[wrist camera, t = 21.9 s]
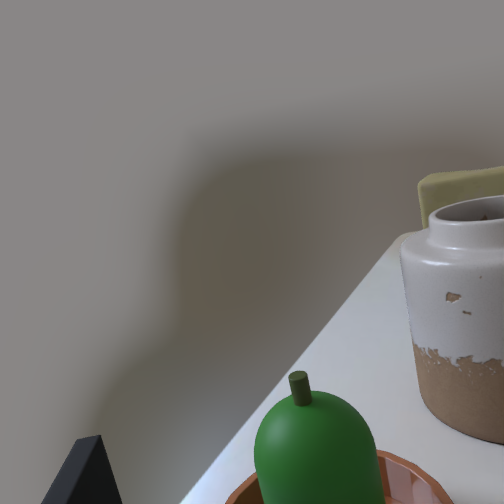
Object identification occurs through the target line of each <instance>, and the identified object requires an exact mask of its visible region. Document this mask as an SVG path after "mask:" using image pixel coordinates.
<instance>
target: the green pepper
mask: <svg viewBox="0 0 504 504" xmlns="http://www.w3.org/2000/svg"><path fill="white" fill-rule="evenodd" d="M288 378H289V383H290V387H291V392H292V395H290V396H288V397H286V398H284V399H282V400H281V401H279V402H278V403H277V404H276V405H275V406H274V407H273V408H272V409H271V410H270V411H269V412H268V413H267V415H266V416H265V417H264V419H263V421H262V422H261V425H260V427H259V429H258V432H257V435H256V439H255V446H254V463H255V469H256V473H257V477H258V481H259V485H260V489H261V493H262V497H263V501H264V504H386V501H385V496H384V490H383V485H382V479H381V473H380V468H379V462H378V457H377V451H376V446H375V442H374V438H373V436H372V433H371V431H370V429H369V427H368V425H367V423H366V422H365V420H364V419H363V417H362V416H361V415H360V414H359V412H358V411H357V410H356V409H355V408H354V407H352V406H351V405H350V404H349V403H347V402H346V401H344V400H343V399H341V398H339V397H337V396H335V395H332V394H329V393H326V392H320V391H311V390H310V385H309V380H308V376H307V373H306V372H305V371H295V372H293V373H291V374H290V375H289V377H288Z"/></svg>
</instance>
